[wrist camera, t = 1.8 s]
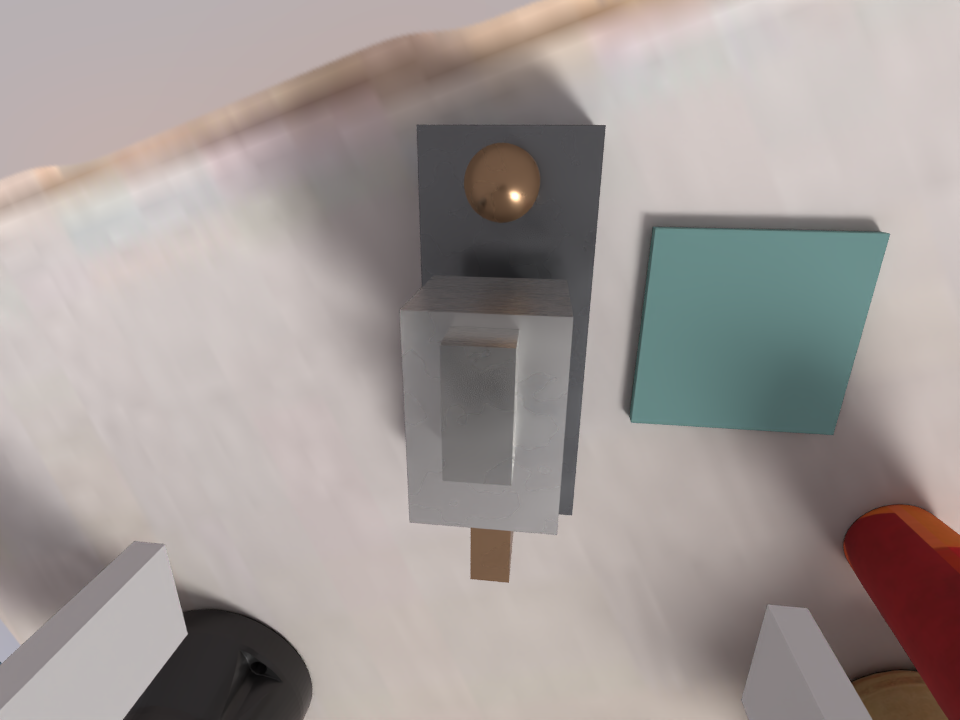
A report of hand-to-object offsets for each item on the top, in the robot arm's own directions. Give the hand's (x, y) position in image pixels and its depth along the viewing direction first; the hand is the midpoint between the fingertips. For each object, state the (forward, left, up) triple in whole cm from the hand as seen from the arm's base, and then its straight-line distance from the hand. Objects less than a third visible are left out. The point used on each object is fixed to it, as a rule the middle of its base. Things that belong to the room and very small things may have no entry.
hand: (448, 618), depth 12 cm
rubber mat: (+14, 0, -23) cm, 26 cm away
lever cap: (0, 0, -15) cm, 15 cm away
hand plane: (0, 0, -23) cm, 23 cm away
